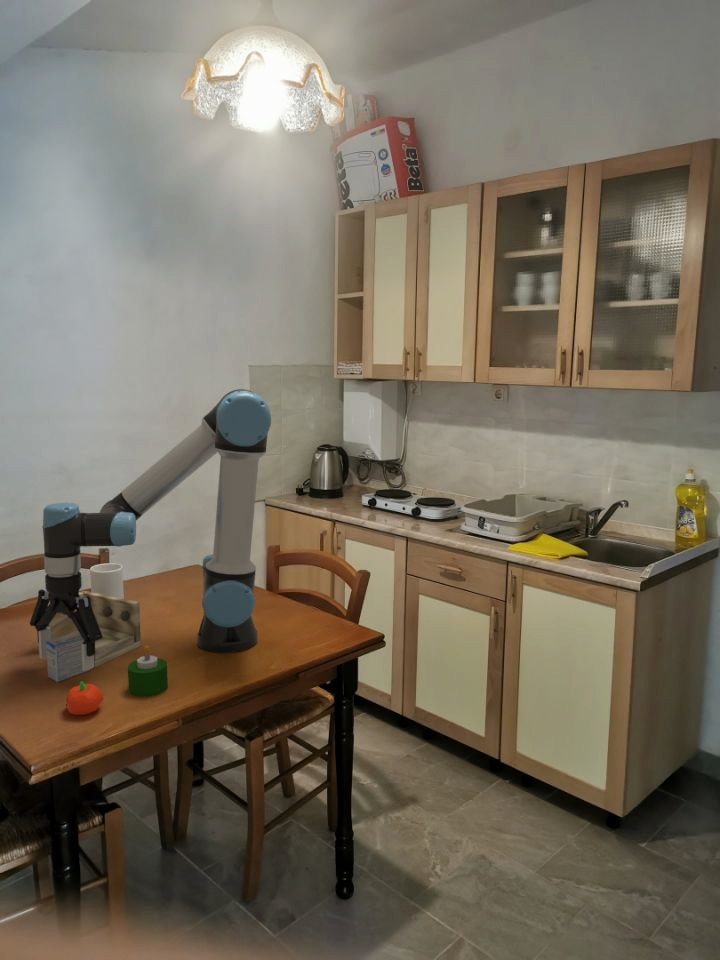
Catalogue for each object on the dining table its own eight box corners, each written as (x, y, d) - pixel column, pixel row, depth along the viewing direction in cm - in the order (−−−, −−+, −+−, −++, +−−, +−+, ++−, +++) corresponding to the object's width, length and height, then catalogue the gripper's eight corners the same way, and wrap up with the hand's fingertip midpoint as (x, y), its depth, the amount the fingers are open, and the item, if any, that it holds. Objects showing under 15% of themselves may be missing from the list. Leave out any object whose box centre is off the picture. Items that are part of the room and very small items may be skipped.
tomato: (74, 725, 147) (68, 696, 145) (63, 710, 153) (58, 682, 152) (110, 711, 151) (104, 683, 149) (98, 697, 157) (93, 669, 156)
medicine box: (79, 666, 174) (77, 631, 172) (89, 671, 171) (88, 636, 169) (47, 677, 168) (45, 640, 166) (57, 682, 165) (55, 645, 163)
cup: (114, 630, 196) (112, 572, 194) (86, 628, 198) (83, 570, 195) (130, 620, 204) (128, 564, 202) (103, 617, 206) (100, 562, 203)
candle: (175, 688, 163) (174, 645, 161) (142, 700, 157) (140, 656, 155) (154, 677, 168) (152, 635, 167) (121, 689, 162) (119, 645, 161)
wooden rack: (141, 646, 186) (139, 602, 184) (95, 667, 173) (93, 620, 171) (86, 632, 195) (83, 590, 193) (38, 652, 181) (35, 607, 180)
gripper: (117, 577, 163) (119, 668, 166) (38, 560, 174) (41, 646, 177) (91, 585, 156) (94, 680, 160) (10, 568, 167) (14, 657, 171)
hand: (66, 662), depth 169 cm, fingers open, 13 cm apart
